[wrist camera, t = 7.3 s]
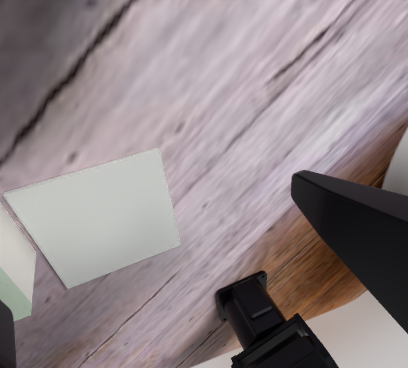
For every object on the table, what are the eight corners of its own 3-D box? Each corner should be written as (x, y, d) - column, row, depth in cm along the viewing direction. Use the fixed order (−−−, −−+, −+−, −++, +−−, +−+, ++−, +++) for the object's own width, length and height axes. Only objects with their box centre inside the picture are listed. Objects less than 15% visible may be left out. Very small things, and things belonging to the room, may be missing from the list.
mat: (179, 242, 26) (181, 244, 26) (67, 285, 24) (67, 289, 23) (157, 147, 20) (159, 149, 20) (4, 192, 18) (3, 195, 17)
